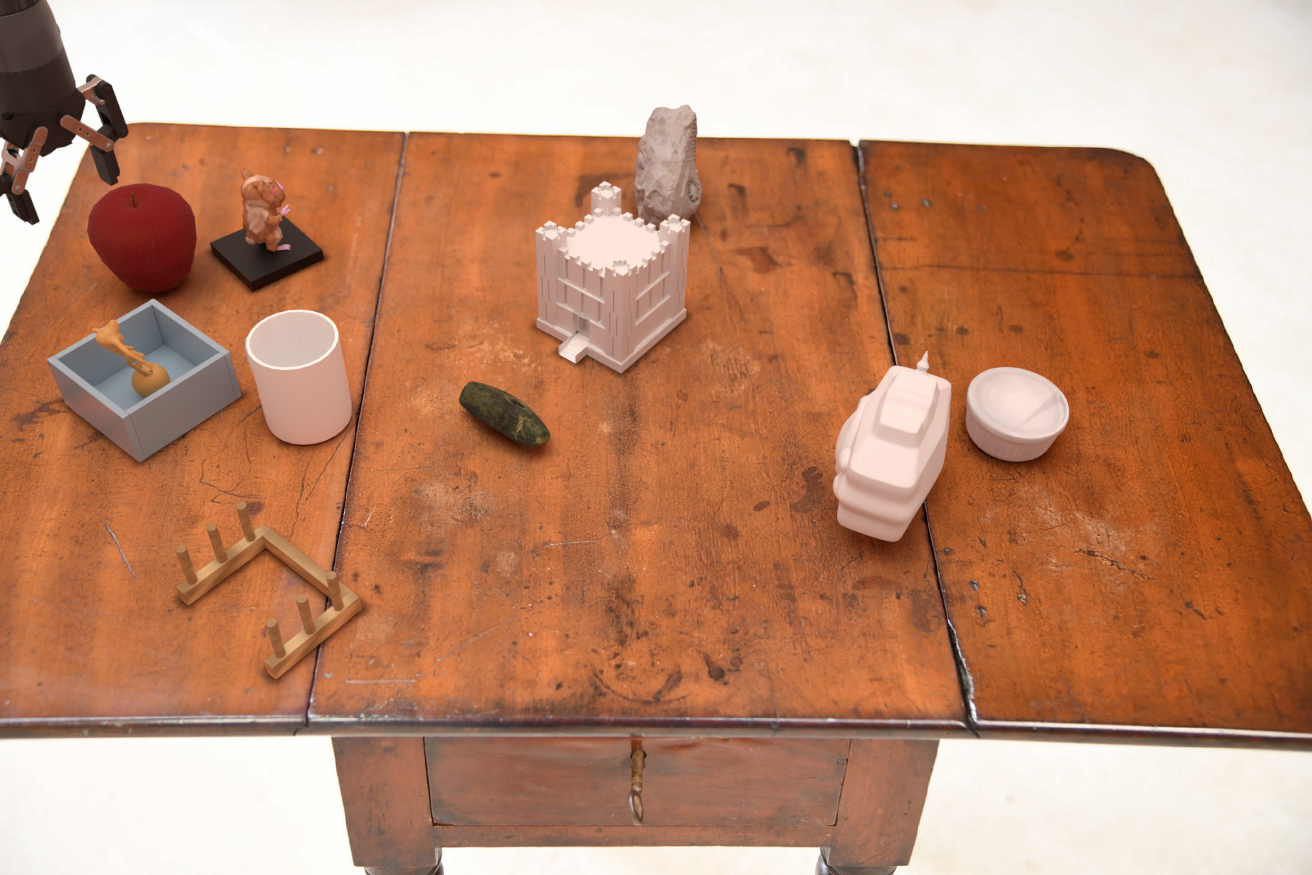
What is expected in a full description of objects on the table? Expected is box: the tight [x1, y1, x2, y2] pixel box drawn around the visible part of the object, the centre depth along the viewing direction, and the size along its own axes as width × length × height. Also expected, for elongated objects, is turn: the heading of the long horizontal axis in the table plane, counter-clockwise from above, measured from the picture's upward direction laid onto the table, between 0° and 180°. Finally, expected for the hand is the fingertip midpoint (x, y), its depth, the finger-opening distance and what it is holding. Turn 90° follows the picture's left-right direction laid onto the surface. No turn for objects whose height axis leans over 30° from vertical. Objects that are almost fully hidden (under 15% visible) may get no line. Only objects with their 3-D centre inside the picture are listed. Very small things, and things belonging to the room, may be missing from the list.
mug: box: [244, 309, 353, 446], centre depth 137 cm, size 10×12×12 cm
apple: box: [86, 182, 198, 294], centre depth 151 cm, size 12×12×13 cm
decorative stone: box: [458, 380, 551, 448], centre depth 139 cm, size 11×8×5 cm
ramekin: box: [965, 366, 1070, 463], centre depth 141 cm, size 11×11×5 cm
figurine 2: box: [209, 167, 325, 292], centre depth 156 cm, size 10×10×12 cm
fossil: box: [633, 103, 703, 231], centre depth 165 cm, size 16×9×15 cm, turn 172°
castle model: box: [534, 180, 692, 374], centre depth 148 cm, size 13×15×14 cm
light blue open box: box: [46, 298, 243, 463], centre depth 139 cm, size 14×14×7 cm
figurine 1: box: [91, 319, 170, 398], centre depth 137 cm, size 8×6×12 cm
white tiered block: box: [832, 350, 952, 543], centre depth 130 cm, size 11×18×16 cm, turn 158°
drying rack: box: [174, 501, 363, 680], centre depth 121 cm, size 11×14×7 cm
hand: (70, 201), depth 122 cm, fingers open, 8 cm apart
